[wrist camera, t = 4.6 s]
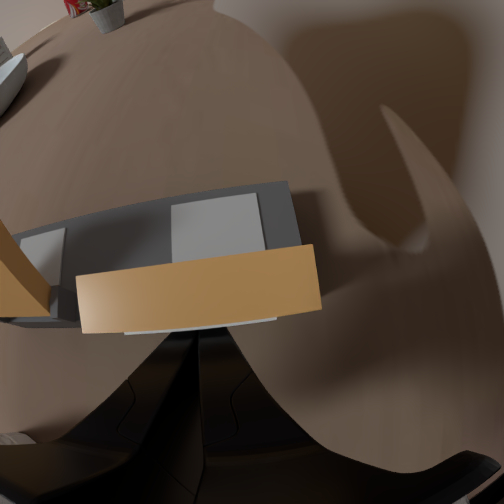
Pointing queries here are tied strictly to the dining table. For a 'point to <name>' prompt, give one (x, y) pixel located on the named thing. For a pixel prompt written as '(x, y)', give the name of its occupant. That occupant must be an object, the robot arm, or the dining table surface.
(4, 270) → the tan flat block
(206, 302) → the orange flat block
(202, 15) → the dining table surface
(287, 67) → the dining table surface
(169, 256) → the power strip
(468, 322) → the dining table surface
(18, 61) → the serving bowl
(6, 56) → the supplement box
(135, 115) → the dining table surface
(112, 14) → the house plant
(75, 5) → the soda can
